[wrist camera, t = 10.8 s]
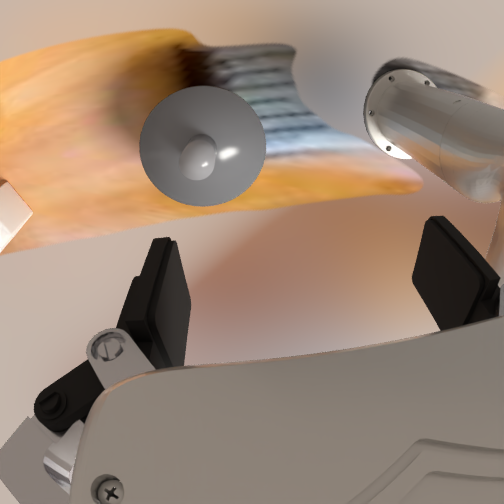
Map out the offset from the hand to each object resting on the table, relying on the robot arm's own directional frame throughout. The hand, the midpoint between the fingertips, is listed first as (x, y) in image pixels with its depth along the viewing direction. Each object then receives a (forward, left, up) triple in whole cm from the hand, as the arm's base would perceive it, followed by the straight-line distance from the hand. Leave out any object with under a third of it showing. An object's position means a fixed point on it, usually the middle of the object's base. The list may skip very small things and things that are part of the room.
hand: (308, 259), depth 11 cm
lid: (+6, +2, -24) cm, 25 cm away
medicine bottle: (+40, +8, -30) cm, 51 cm away
